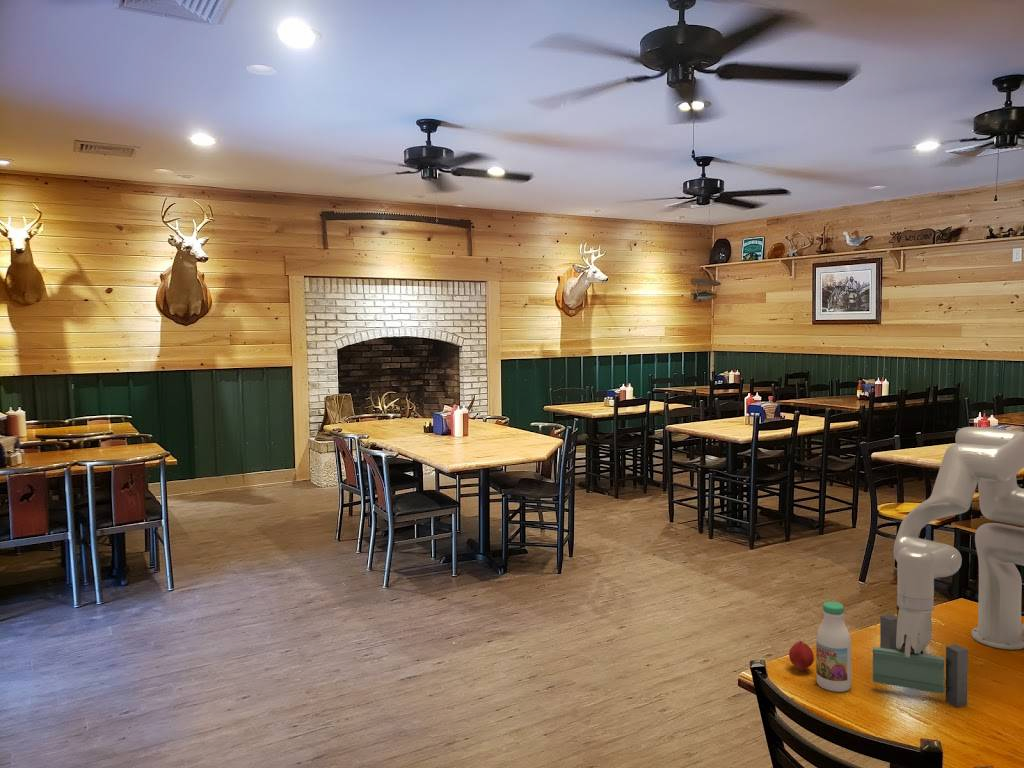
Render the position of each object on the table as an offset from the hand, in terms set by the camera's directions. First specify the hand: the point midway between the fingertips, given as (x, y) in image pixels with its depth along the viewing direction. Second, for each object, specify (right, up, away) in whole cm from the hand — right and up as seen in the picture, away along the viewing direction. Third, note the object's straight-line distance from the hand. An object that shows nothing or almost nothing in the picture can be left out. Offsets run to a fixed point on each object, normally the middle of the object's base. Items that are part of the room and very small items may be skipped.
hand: (915, 675), depth 174 cm
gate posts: (+2, -3, +2) cm, 4 cm away
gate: (-3, -1, -3) cm, 5 cm away
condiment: (+9, -1, +19) cm, 22 cm away
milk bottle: (-18, -4, +3) cm, 19 cm away
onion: (-23, -3, +11) cm, 25 cm away
